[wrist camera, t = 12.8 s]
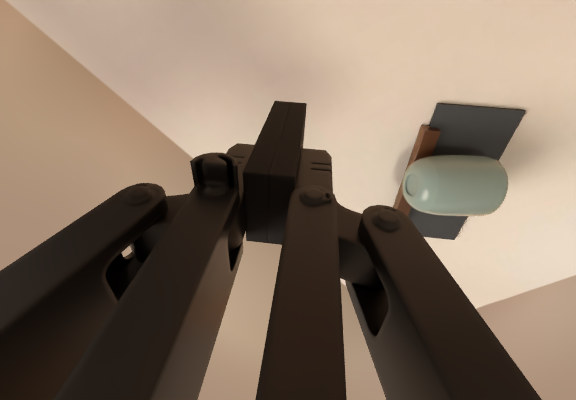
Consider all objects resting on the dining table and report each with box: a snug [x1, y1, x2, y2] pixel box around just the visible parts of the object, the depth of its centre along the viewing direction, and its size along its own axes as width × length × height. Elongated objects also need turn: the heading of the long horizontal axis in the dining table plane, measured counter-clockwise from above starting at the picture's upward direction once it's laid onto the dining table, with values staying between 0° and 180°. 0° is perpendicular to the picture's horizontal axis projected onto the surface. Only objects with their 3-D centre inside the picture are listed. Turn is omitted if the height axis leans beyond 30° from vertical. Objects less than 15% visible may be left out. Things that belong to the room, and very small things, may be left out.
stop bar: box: [393, 125, 441, 216], centre depth 41 cm, size 2×16×2 cm, turn 177°
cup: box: [402, 155, 508, 216], centre depth 36 cm, size 8×8×10 cm
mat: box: [408, 103, 526, 240], centre depth 42 cm, size 10×22×1 cm, turn 177°
